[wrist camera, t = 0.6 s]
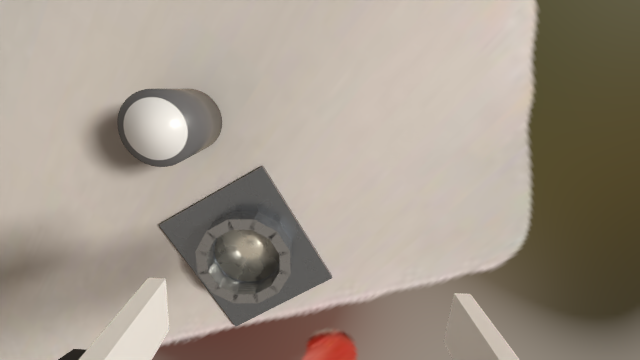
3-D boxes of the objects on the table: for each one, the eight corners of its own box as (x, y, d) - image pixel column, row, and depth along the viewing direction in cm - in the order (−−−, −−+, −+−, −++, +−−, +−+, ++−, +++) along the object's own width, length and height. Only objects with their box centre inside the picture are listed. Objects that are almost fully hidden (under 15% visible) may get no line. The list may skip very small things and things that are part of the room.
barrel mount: (160, 223, 38) (148, 234, 35) (262, 165, 37) (258, 172, 34) (236, 323, 42) (230, 341, 39) (332, 275, 40) (333, 289, 38)
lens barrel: (148, 108, 35) (98, 114, 27) (199, 77, 34) (163, 73, 26) (184, 160, 36) (147, 180, 28) (233, 131, 36) (210, 144, 28)
